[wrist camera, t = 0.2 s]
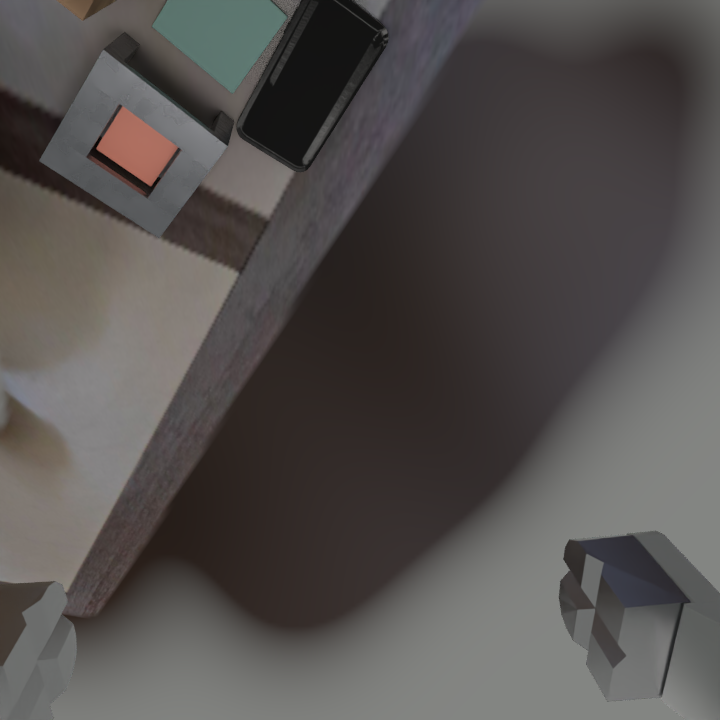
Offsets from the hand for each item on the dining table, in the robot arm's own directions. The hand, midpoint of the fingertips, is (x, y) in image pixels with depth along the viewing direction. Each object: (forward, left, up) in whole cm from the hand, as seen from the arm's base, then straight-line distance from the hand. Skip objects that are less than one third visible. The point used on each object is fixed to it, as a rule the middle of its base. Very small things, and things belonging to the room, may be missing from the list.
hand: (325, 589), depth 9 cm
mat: (+4, -5, -51) cm, 52 cm away
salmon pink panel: (+15, -5, -49) cm, 51 cm away
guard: (+15, -5, -51) cm, 54 cm away
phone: (+3, +4, -52) cm, 52 cm away
